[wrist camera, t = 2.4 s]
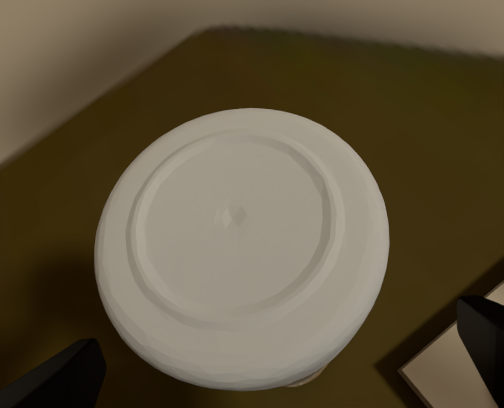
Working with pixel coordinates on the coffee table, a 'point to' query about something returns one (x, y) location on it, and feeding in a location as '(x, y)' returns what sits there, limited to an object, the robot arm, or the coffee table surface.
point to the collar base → (449, 370)
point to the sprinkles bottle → (242, 250)
